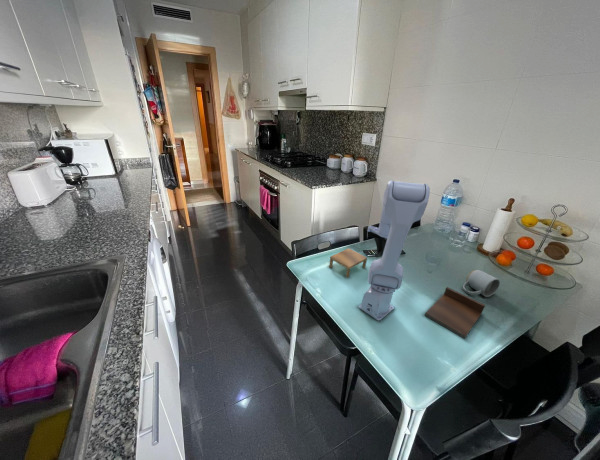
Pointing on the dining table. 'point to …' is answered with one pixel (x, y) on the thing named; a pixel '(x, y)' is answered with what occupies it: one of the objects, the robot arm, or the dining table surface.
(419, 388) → the dining table surface
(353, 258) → the upper shelf
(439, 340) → the dining table surface
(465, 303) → the lower shelf
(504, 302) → the dining table surface
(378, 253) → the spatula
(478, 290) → the ceramic mug
